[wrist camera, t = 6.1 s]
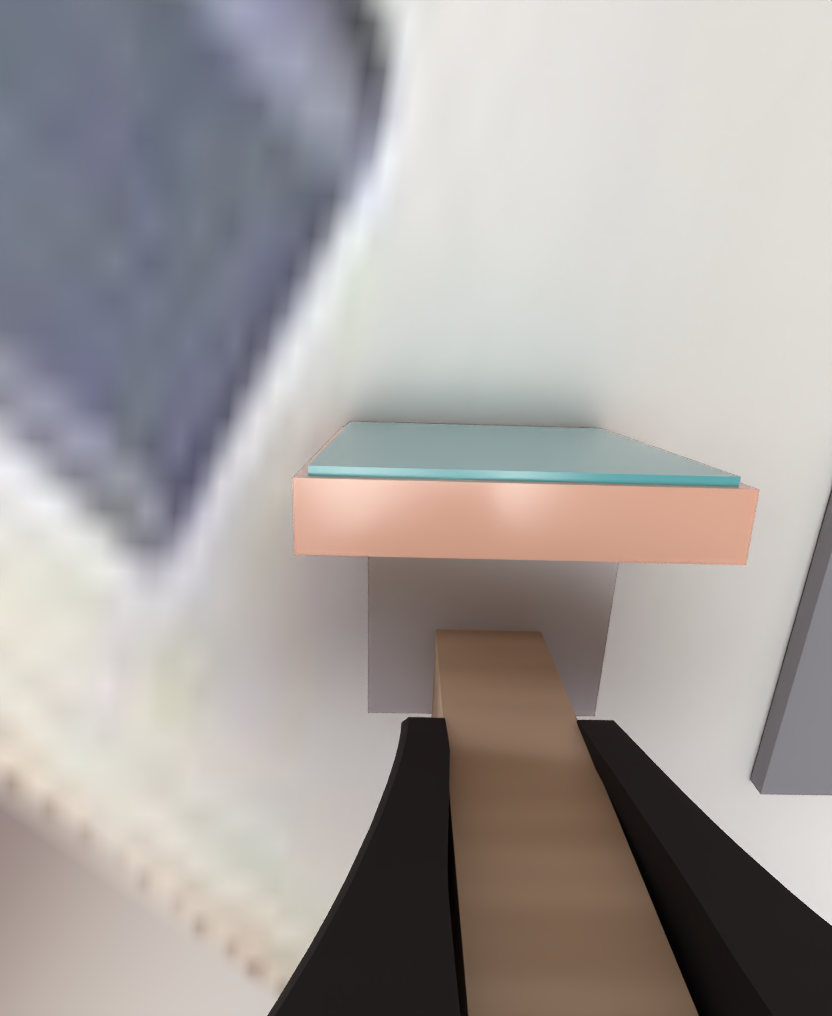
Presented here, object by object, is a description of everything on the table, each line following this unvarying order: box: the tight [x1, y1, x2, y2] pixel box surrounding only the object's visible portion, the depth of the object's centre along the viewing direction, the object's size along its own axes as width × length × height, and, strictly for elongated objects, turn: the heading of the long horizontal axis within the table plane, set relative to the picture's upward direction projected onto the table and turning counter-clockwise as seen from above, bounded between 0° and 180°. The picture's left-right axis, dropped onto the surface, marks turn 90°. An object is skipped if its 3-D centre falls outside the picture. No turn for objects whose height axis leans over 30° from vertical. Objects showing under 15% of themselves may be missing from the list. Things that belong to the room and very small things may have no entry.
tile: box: [292, 421, 759, 565], centre depth 12 cm, size 1×7×7 cm, turn 88°
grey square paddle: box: [368, 556, 699, 1016], centre depth 9 cm, size 5×5×8 cm
